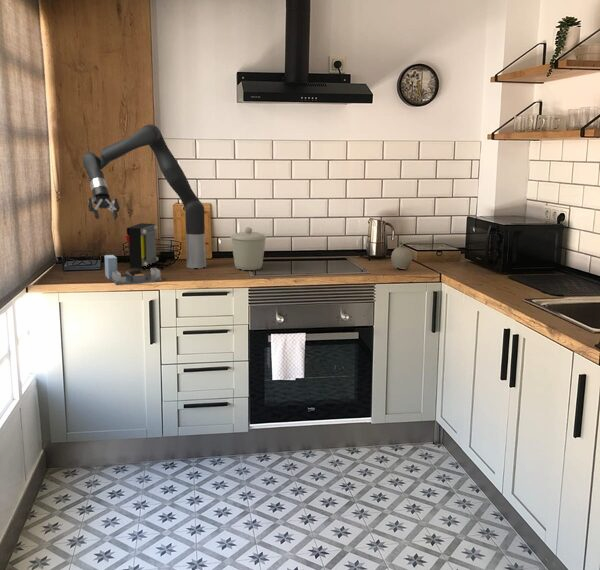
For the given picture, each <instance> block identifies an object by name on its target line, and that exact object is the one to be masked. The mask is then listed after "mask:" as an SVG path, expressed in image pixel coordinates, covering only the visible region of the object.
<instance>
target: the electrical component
mask: <svg viewBox="0 0 600 570" xmlns="http://www.w3.org/2000/svg"><path fill="white" fill-rule="evenodd" d="M157 231H158V225H156V224H155V223H144V222H141V223H138V224H134V225H132V226H128V227H126V235H125V238H126V242H127V244H128V245H129V248H128V249H129V266H130V267H129V268H130V269H140V268H139V267H142V266H146V267H148V266H149V265H148V264H150V265H152V263H153V264H154V263H155V264H156V263H157V262H159V256H157V244H156V243H157V241H156V232H157ZM147 265H148V266H147Z"/></svg>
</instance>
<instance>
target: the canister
mask: <svg viewBox="0 0 600 570" xmlns="http://www.w3.org/2000/svg"><path fill="white" fill-rule="evenodd" d="M229 238H230V239H231V246H232V255H233V261H234V266H235V268H236V269H237V270H239V269H241V270H240V271H244V270H253V271H258V270H260V269H261V268H262V266H263V263H264V262H263V261H264V254H265V246H266V239H267V238H268V236H267V235H265V234H263V233H261V232H258V231H257V232H254V231H253V228H252V227H250V226H248V227H245V229H244V231H241V232H239V231H238V232H235V233H233V234H232V235H230V237H229ZM257 269H258V270H257Z"/></svg>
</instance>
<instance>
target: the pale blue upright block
mask: <svg viewBox="0 0 600 570" xmlns="http://www.w3.org/2000/svg"><path fill="white" fill-rule="evenodd" d="M103 257H104V274H105V278H107V280H109V279H110V280H111V278H112V271H118V257H117V256H115V255H114V254H106V255H104V256H103Z"/></svg>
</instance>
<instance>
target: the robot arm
mask: <svg viewBox="0 0 600 570" xmlns="http://www.w3.org/2000/svg"><path fill="white" fill-rule="evenodd" d="M146 146H149V147H150V149H151V150H152V152H153V154H154V156H155V158H156V160H157V163H158V166H159V170H160V171H161V174H162V175H163V177H164V179H165V180H166V182H167V183H168V185H169V186H170V187H171V189H172V190H173V192H175V194H176V195H177V196H178V198H179V199H180V200H181V203H182V205H183V206H184V209H185V210H184V211H185V212H184V213H185V214H184V215H185V217H184V218H185V241H186V242H185V243H186V268H188V269H194V268H198V269H204V268H203V267H205V268H207V248H206V239H205V237H206V236H205V235H206V234H205V233H206V232H205V231H206V229H205V206H204V204H203V203H202V202H201V201H200V198H198V196H197V195H196V193H195V192H194V191H193V189H192V187H191V185H190V183H189V182H190V181H189V180H188V178H187V176H186V175H185V172H184V171H183V168H181V166H180V164H179V162H178V161H177V159H176V158H175V156H174V155H173V153H172V152H171V149H169V147H168V145H167V143H166V141H165V139H164V136H163V135H162V133H161V130H160V129H159V127H157V125H155V124H146V125H144V126H143V127H142V128H140V129H138V131H137V132H135V133H133V134H132V135H130V136H128V137H126V138H124V139H122V140H119V141H117V142H114V143H112V144H110V145H107V146H105V147H104V148H103V147H102V149H101V150H100V156H98V155H96V154H95V153H94V152H91V151H88V152H85V153H84V154H83V156H82V164H83V167H84V169H85V171H86V174H87V175H88V179H89V180H88V181H89V184H90V191H91V193H92V197H93V198H91V197H89V198H88V200H87V206H88V207H87V208H88V211H89V212H93V214H94V218H95V219H96V220H99V218H100V215H99V211H98V210H99V208H100V209H101V210H102V209H107V210H109V211H111V212H112V216H113V220H117V218H118V216H119V215H118V212H119V211H120V208H121V207H120V204H119V202H118V201H119V200H118V199H117V198H114V199H111V198H110V193H109V188H108V184H107V181H106V178H105V174H104V172H103V171H102V170H103V169H104V168H105V167H106V166H107V165H109V164H110V163H111V162H112V161H115V160H117V159H119V158H121V157H123V156H125V155H127V154H128V153H130V152H133V150H136V149H138V148H139V149H140V148H141V147H146ZM93 204H95V207H94V206H93ZM194 270H195V269H194Z"/></svg>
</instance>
